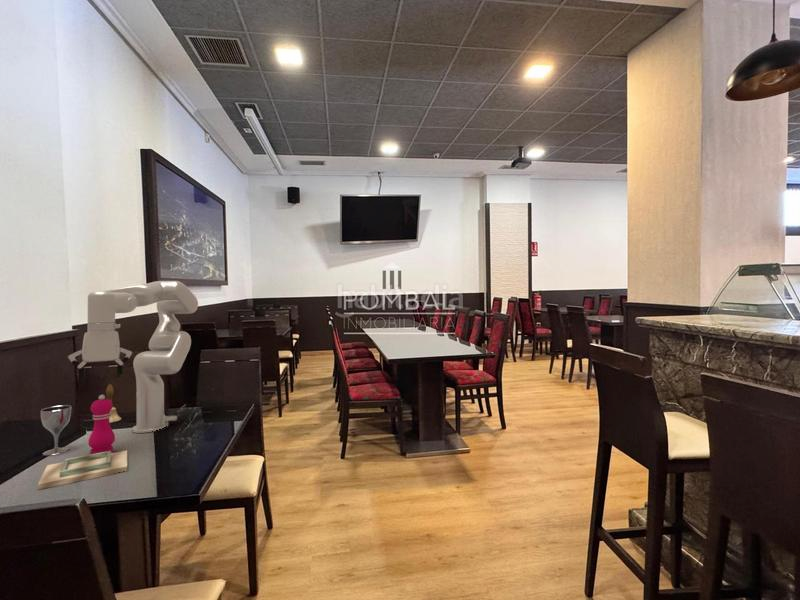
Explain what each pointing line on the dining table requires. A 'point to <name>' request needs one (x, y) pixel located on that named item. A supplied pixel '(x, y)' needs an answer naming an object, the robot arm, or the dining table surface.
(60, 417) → the wine glass
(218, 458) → the dining table surface
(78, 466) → the board
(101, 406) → the pepper mill
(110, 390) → the hand bell
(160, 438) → the dining table surface
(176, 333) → the robot arm
